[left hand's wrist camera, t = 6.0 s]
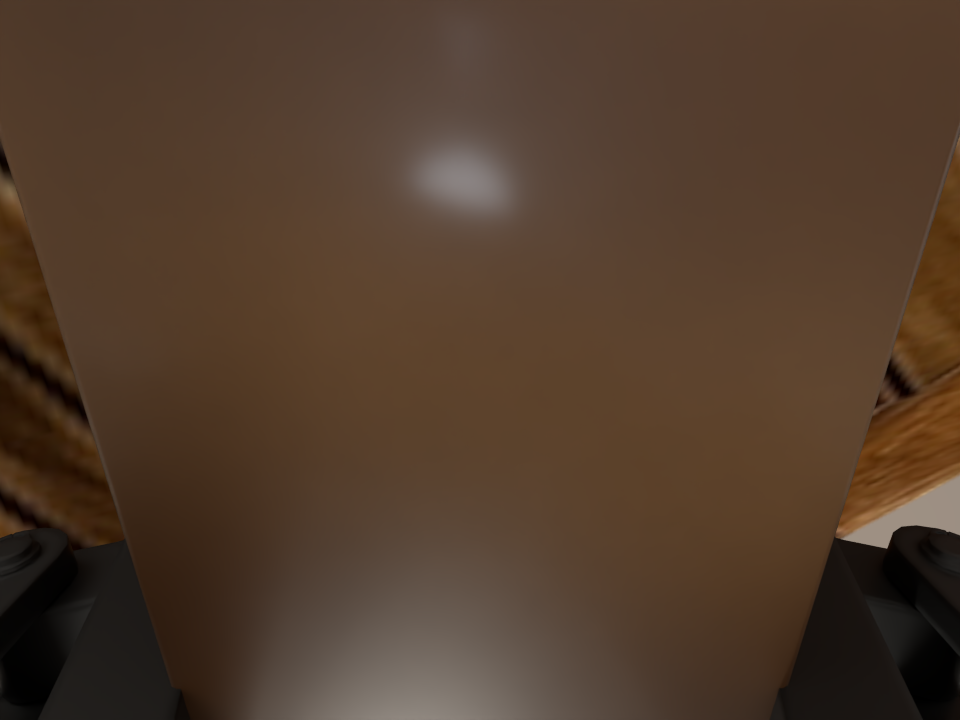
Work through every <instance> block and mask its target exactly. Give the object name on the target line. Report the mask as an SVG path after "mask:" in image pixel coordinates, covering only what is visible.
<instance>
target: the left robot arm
mask: <svg viewBox="0 0 960 720" xmlns="http://www.w3.org/2000/svg"><path fill="white" fill-rule="evenodd" d="M0 720H190V717H189V714H188V710H187V707H186V704H185V700H184V697H183V694H182V690H181V689H176V688H174V687H172V686H171V683H170V680H169V677H168V674H167V670H166V667H165V664H164V661H163V658H162V654H161V651H160V648H159V645H158V642H157V638H156V635H155V632H154V629H153V626H152V622H151V619H150V616H149V613H148V610H147V606H146V603H145V600H144V597H143V594H142V590H141V587H140V584H139V581H138V578H137V574H136V571H135V568H134V565H133V562H132V558H131V555H130V552H129V549H128V546H127V542H126V539H124V540H123V541H119V542H115V543H110V544H105V545H100V546H96V547H91V548H86V549H81V550H76V551H73V550H72V547H71V544H70V541H69V539H68V536H67V534H65V533H64V532H62V531H61V530H59V529H52V528H40V529H33V530H26V531H21V532H17V533H14V534H13V535H12V534H10V535H7V536H5V537H2V538H0ZM770 720H960V535H957V534H954V533H952V532H946V531H945V530H941V529H937V528H930V527H923V526H905V527H900V528H899V529H897V530H896V531H895V532H893V535H892V537H891V540H890V543H889V546H888V548H887V549H886V548H881V547H876V546H871V545H866V544H861V543H856V542H851V541H846V540H842V539H838V538H835V536H834V540H833V543H832V546H831V549H830V552H829V556H828V559H827V562H826V565H825V569H824V572H823V575H822V578H821V581H820V585H819V588H818V591H817V594H816V597H815V601H814V604H813V607H812V610H811V613H810V617H809V620H808V623H807V626H806V630H805V633H804V636H803V639H802V642H801V646H800V649H799V652H798V655H797V658H796V662H795V665H794V668H793V671H792V674H791V678H790V681H789V684H788V686H786V687H784V688H779V690H778V694H777V697H776V700H775V704H774V707H773V710H772V714H771V717H770Z"/></svg>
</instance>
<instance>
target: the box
mask: <svg viewBox="0 0 960 720" xmlns="http://www.w3.org/2000/svg"><path fill="white" fill-rule="evenodd" d="M959 135H960V0H0V139H1V142H2V145H3V148H4V152H5V155H6V158H7V161H8V164H9V168H10V171H11V174H12V177H13V180H14V184H15V187H16V190H17V193H18V196H19V200H20V203H21V206H22V209H23V212H24V216H25V219H26V222H27V225H28V228H29V232H30V235H31V238H32V241H33V244H34V248H35V251H36V254H37V257H38V260H39V264H40V267H41V270H42V273H43V277H44V280H45V283H46V286H47V289H48V293H49V296H50V299H51V302H52V305H53V309H54V312H55V315H56V318H57V321H58V325H59V328H60V331H61V334H62V337H63V341H64V344H65V347H66V350H67V353H68V357H69V360H70V363H71V366H72V369H73V373H74V376H75V379H76V382H77V385H78V389H79V392H80V395H81V398H82V401H83V405H84V408H85V411H86V414H87V417H88V421H89V424H90V427H91V430H92V433H93V437H94V440H95V443H96V446H97V449H98V453H99V456H100V459H101V462H102V465H103V469H104V472H105V475H106V478H107V481H108V485H109V488H110V491H111V494H112V498H113V501H114V504H115V507H116V510H117V514H118V517H119V520H120V523H121V526H122V530H123V533H124V536H125V539H126V542H127V546H128V549H129V552H130V555H131V558H132V562H133V565H134V568H135V571H136V574H137V578H138V581H139V584H140V587H141V590H142V594H143V597H144V600H145V603H146V606H147V610H148V613H149V616H150V619H151V622H152V626H153V629H154V632H155V635H156V638H157V642H158V645H159V648H160V651H161V654H162V658H163V661H164V664H165V667H166V670H167V674H168V677H169V680H170V683H171V686H172V687H174V688H176V689H181V690H182V694H183V697H184V700H185V704H186V707H187V710H188V714H189V717H190V720H770V717H771V714H772V710H773V707H774V704H775V700H776V697H777V694H778V690H779V688H784V687H786V686H788V684H789V681H790V678H791V674H792V671H793V668H794V665H795V662H796V658H797V655H798V652H799V649H800V646H801V642H802V639H803V636H804V633H805V630H806V626H807V623H808V620H809V617H810V613H811V610H812V607H813V604H814V601H815V597H816V594H817V591H818V588H819V585H820V581H821V578H822V575H823V572H824V569H825V565H826V562H827V559H828V556H829V552H830V549H831V546H832V543H833V540H834V536H835V533H836V530H837V527H838V524H839V520H840V517H841V514H842V511H843V508H844V504H845V501H846V498H847V495H848V491H849V488H850V485H851V482H852V479H853V475H854V472H855V469H856V466H857V463H858V459H859V456H860V453H861V450H862V447H863V443H864V440H865V437H866V434H867V430H868V427H869V424H870V421H871V418H872V414H873V411H874V408H875V405H876V402H877V398H878V395H879V392H880V389H881V386H882V382H883V379H884V376H885V373H886V370H887V366H888V363H889V360H890V357H891V353H892V350H893V347H894V344H895V341H896V337H897V334H898V331H899V328H900V325H901V321H902V318H903V315H904V312H905V309H906V305H907V302H908V299H909V296H910V292H911V289H912V286H913V283H914V280H915V276H916V273H917V270H918V267H919V264H920V260H921V257H922V254H923V251H924V247H925V244H926V241H927V238H928V235H929V231H930V228H931V225H932V222H933V219H934V215H935V212H936V209H937V206H938V203H939V199H940V196H941V193H942V190H943V186H944V183H945V180H946V177H947V174H948V170H949V167H950V164H951V161H952V158H953V154H954V151H955V148H956V145H957V142H958V138H959Z"/></svg>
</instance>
